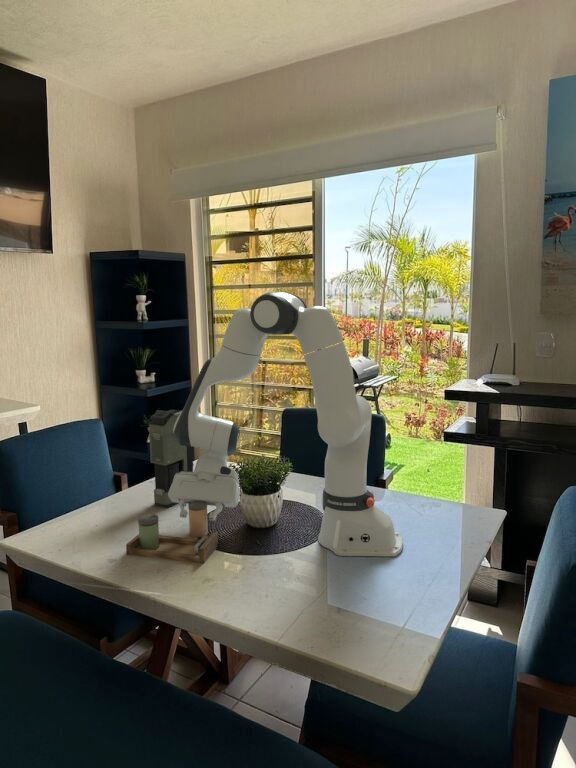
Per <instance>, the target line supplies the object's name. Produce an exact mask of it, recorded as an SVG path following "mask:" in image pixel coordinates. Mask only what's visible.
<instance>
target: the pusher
mask: <svg viewBox="0 0 576 768" xmlns="http://www.w3.org/2000/svg"><path fill="white" fill-rule="evenodd" d="M208 538H209V536H208V535H206V536H205V535H204V536H203V537H200V538H199V539H200V540H199V542H198V543H197V544H196V545H195V546H194V547H195V555H199V548H200V547H201V546H202V545H203V544H204V542H205V541H206V540H207V539H208Z"/></svg>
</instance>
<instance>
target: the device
mask: <svg viewBox="0 0 576 768" xmlns="http://www.w3.org/2000/svg"><path fill="white" fill-rule="evenodd" d="M181 412H182V410H179V409H168V410H161V409H157V410H155V413H154V414H153V415H151V416H150V418H149V420H150V422H149V424H148V429H149V430H148V431H149V433H148V434H149V452H150V454H149V455H150V460H149V461H150V464H154V481H155V482H154V483H155V484H154V486H155V488H154V490H153V497H154V498H153V499H154V501H153V502H154V506H155V507H159V508H163V509H168V508H172V507H175V506H176V505H179V503H176V502H172V501H171V500H170V498H169V497H168V492H169V489H170V487H171V485H172V483H173V479H174V476H175V474H177V473H179V472H181V471H185V472H194V462H193V461H194V460H193V459H194V458H193V448H194V447H193V446H192V447H189V446H183V445H180V444H179V443H178V442H177V441H176V439H175V438H174V436H173V428H174V424H175V422H176V420H177V418H178V416H179V415H180V413H181Z"/></svg>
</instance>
